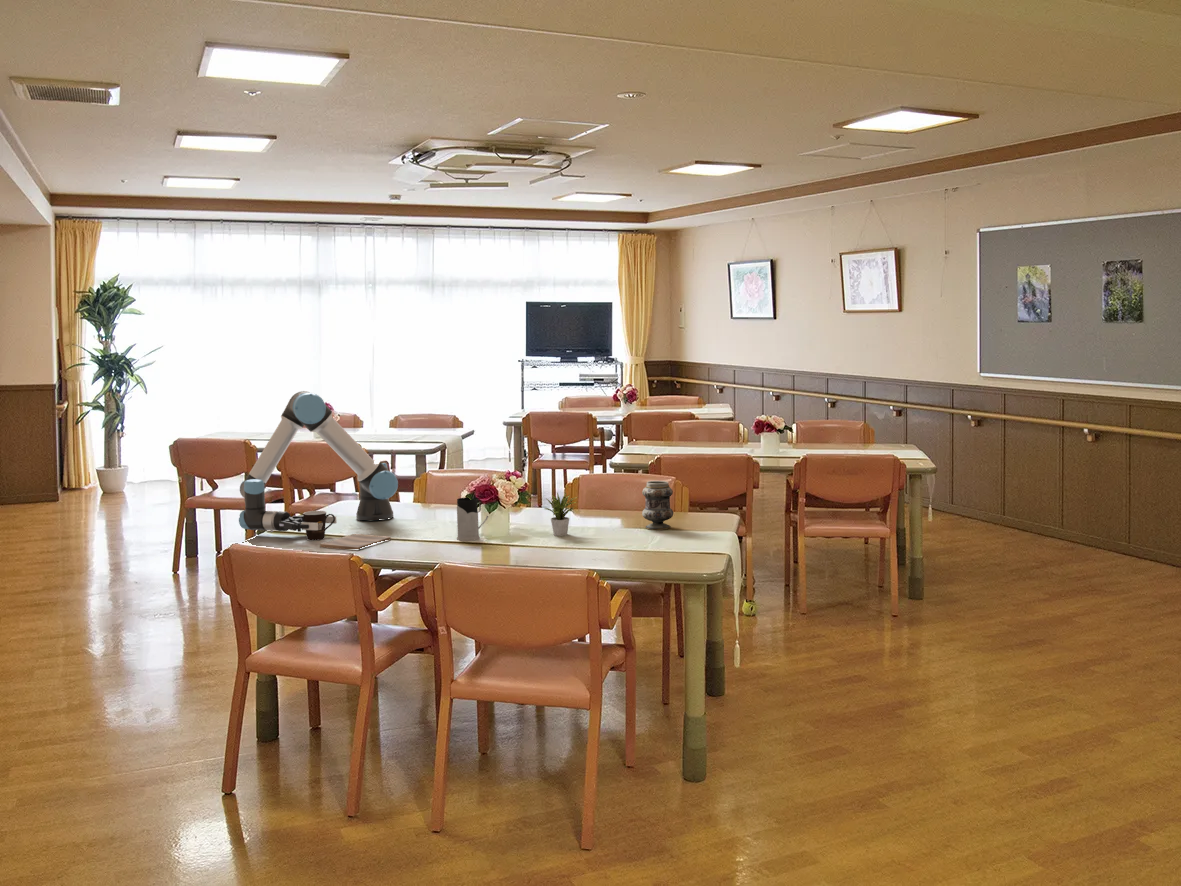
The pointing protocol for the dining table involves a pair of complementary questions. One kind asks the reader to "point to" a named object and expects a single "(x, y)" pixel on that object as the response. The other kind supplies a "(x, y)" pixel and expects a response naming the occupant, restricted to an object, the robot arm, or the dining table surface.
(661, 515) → the apothecary jar
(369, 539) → the spiral notebook
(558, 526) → the house plant
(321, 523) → the coffee mug
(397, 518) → the dining table surface
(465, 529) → the gray pitcher
